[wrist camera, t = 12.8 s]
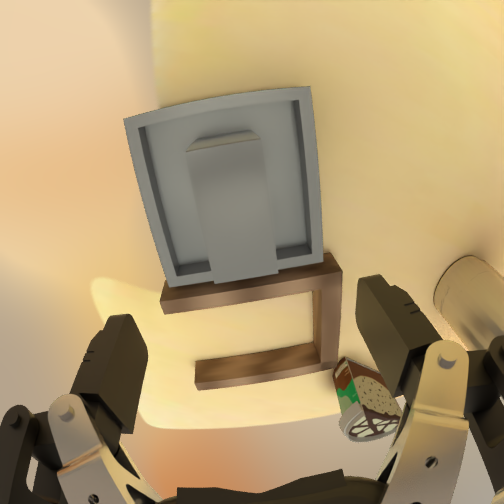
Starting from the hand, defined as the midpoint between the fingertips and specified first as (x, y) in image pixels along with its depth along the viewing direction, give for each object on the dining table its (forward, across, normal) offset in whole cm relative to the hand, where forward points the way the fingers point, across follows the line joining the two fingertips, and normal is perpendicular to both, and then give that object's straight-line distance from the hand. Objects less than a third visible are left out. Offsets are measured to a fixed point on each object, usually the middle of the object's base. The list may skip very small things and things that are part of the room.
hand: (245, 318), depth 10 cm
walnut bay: (+17, 0, +15) cm, 23 cm away
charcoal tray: (+17, 0, 0) cm, 17 cm away
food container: (+18, -12, +30) cm, 36 cm away
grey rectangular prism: (+16, 0, 0) cm, 16 cm away
